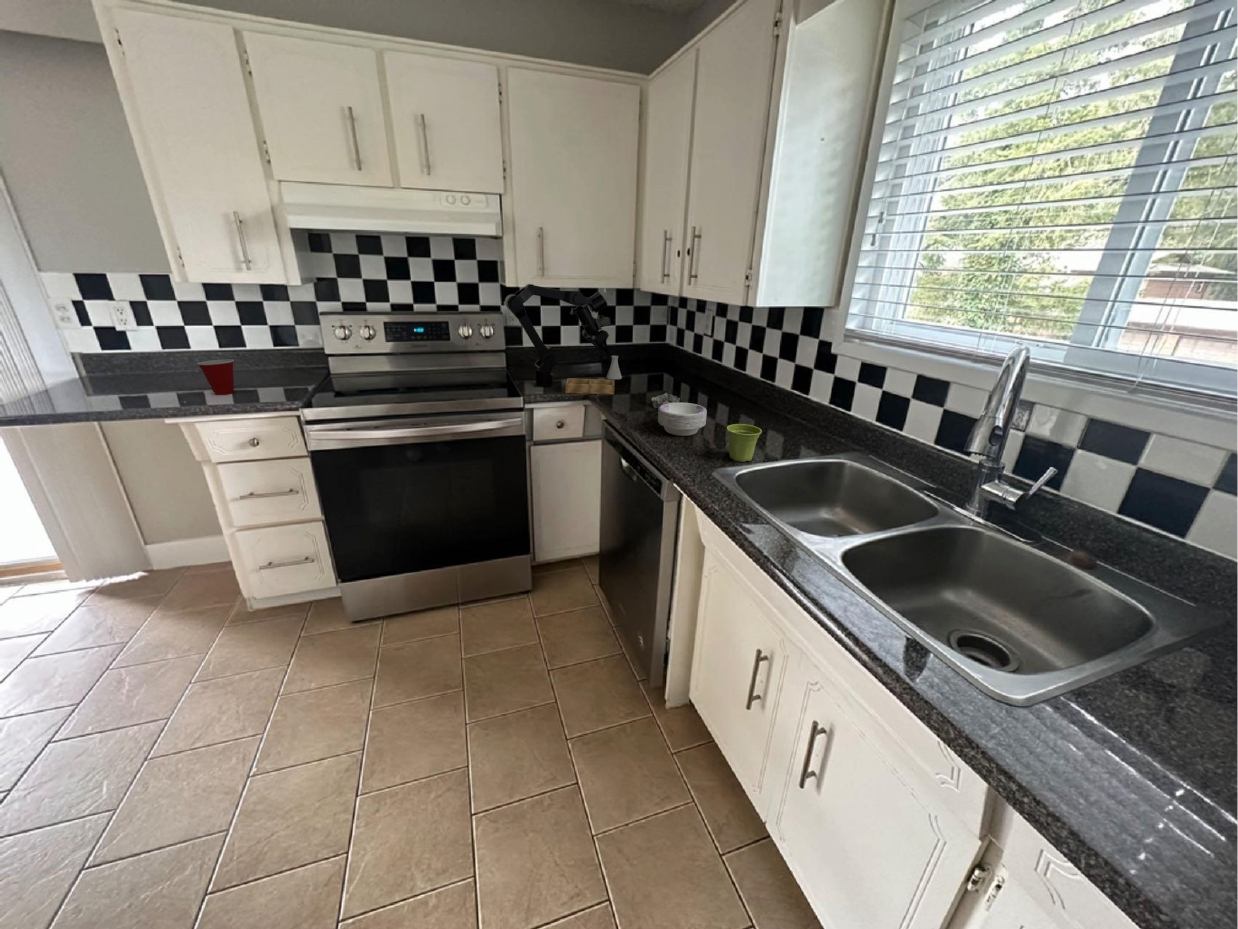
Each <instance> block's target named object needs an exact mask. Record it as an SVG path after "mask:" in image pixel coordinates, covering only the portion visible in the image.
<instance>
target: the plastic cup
mask: <svg viewBox="0 0 1238 929" xmlns="http://www.w3.org/2000/svg"><path fill="white" fill-rule="evenodd" d="M234 362H235V359H233V358H228V359H227V358H226V359H225V358H224V359H223V358H222V359H212V360H205V361H199V362H196V365H198V367H199V368H200V369H201V371H202V373H203V375H204V377H205V379H206V380H207V382H208V385H209V386H210V388H211V390H212V392H213V393H214V395H216V396H224V395H230V394H233V393H235V377H234Z"/></svg>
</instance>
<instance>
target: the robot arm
mask: <svg viewBox="0 0 1238 929" xmlns="http://www.w3.org/2000/svg"><path fill="white" fill-rule="evenodd" d="M533 296H536V297H537V296H538V297H542V298H548V299H553V300H558V301H562V302H564V303H567V304H570V305H572V306H575V308H574V307H571V309H570V312H569V314H570V315H572V316H575V315H576V316H577V318H578V320H579V322H580V327H583V329H582V331H581V335H582V337H583V338H585V340H586V341H588V343H590V344H592V345H593V346H594V347H595V348H597V349H598V350H599V351H600V350H602V351H603V352H604V353H605V354H608V353H609V352H610V351H609V347H608V343H607V342H608V341H607V340H608V339H609V336H610V334H609V333H608V331H607V330H604V329H603V328H605V327H611V318H610V317H608V316H604V315H603V314H600V315H599V314H598V315H597V318H596V317H594V315H593V314H592V313H595V314H597V313H599V312H601V311H602V310H604V309H605V308H606V307H608V301H607V300H606V298H605V297H604V296H603V295H602V294H601V292H600V291H596V292H595V293H594V294H593V295H591V296H589V297H587V296H584V294H583V292H581V291H580V290H579V291H578V290H575V289H555V288H550V287H544V286H539V285H534V284H533V283H527V284H526V285H525V286H523V287H522V288H520V289H519V290H517V291H515V293H511V294H508V295H506V297H505V299H504V305H505V306H506V308H507V310H509V311H510V312H511V313H512V315H513V316H514V317H515V318H516V319H517V321H518V322H519V324H520V326H521V327H522V329H523V330H524V332H525V334H526V335H527V337H528V339H529V340H530V342H531V344H532V345H533V347H534V348H535V351H536V355H537V357H538V359H537V361H535V362H534V364H533V365H534V367H535V369H536V370H535V385H534V387H546V388H547V387H548V388H551V387H552V385H553V384H554V374H553V373H552V371H553V368H554V367H555V366H556V364H557V358H556V357H557V354H556V353H555V352H554V351H553V348H552V347H550V346H549V345H545V344H544V342H543V339H542V338H541V337H540V335H539V333H538V332H537V329H536V328H535V327H534V325H533V323H532V322H531V320H530V318H529V316H528V314H527V312H526V308H525V305H524V304H525V303H526V302H527V301H528V300H530V299H531V297H533Z"/></svg>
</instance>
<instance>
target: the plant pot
mask: <svg viewBox="0 0 1238 929" xmlns="http://www.w3.org/2000/svg"><path fill="white" fill-rule="evenodd" d="M726 430H727V434H728V440H729V441H728V444H729V445H728V447H729V459H732V460H733V461H735V462H740V463H744V462H750V461H752V460H753V456H754V452H755V450H756V445H757V442H758V439H759V437H760V436H761V434H762V432H763V430H762V429H761V428H760V427H758V426H755V425H751V424H745V423H735V424H734V423H733V424H729V425H727V427H726Z"/></svg>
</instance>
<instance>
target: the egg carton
mask: <svg viewBox="0 0 1238 929" xmlns="http://www.w3.org/2000/svg"><path fill="white" fill-rule="evenodd" d="M680 400H681V397H678V396H677V395H673V394H669V393H667V392H664V393H663V394H661V395H660V394H659V395H657V396H653V397H651V401H652V407H653V408H654V409H656V408H657V409H659V407H660V406H661V405H664V404H667V403H680Z"/></svg>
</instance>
